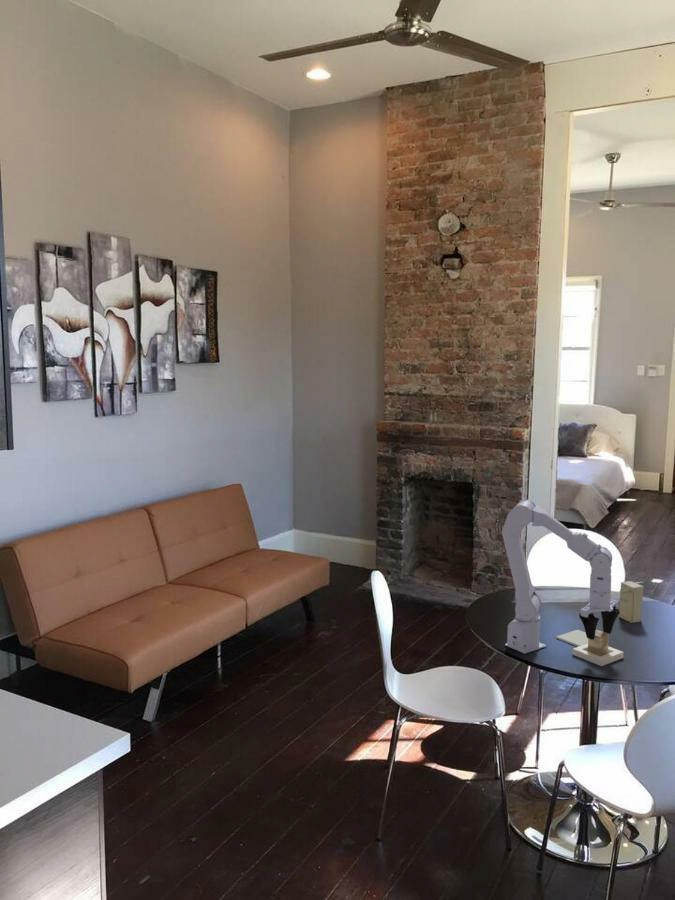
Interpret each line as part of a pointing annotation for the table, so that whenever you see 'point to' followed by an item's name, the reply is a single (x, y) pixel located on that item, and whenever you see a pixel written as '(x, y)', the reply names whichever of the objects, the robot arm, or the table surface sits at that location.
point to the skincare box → (631, 601)
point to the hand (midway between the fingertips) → (598, 635)
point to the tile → (574, 638)
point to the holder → (599, 660)
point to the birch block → (599, 643)
